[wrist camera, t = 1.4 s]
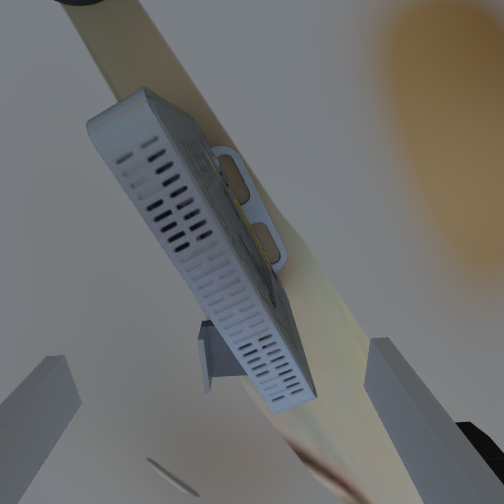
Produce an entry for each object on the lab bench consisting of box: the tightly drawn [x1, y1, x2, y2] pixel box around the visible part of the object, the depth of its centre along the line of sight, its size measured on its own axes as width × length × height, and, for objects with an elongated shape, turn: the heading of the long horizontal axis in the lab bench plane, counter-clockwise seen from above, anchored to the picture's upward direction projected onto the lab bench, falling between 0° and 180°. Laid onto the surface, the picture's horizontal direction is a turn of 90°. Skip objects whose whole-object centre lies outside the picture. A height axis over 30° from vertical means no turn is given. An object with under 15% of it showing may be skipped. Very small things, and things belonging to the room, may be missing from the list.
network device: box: [86, 87, 317, 414], centre depth 27 cm, size 26×9×20 cm, turn 27°
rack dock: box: [198, 321, 247, 393], centre depth 42 cm, size 10×13×4 cm
